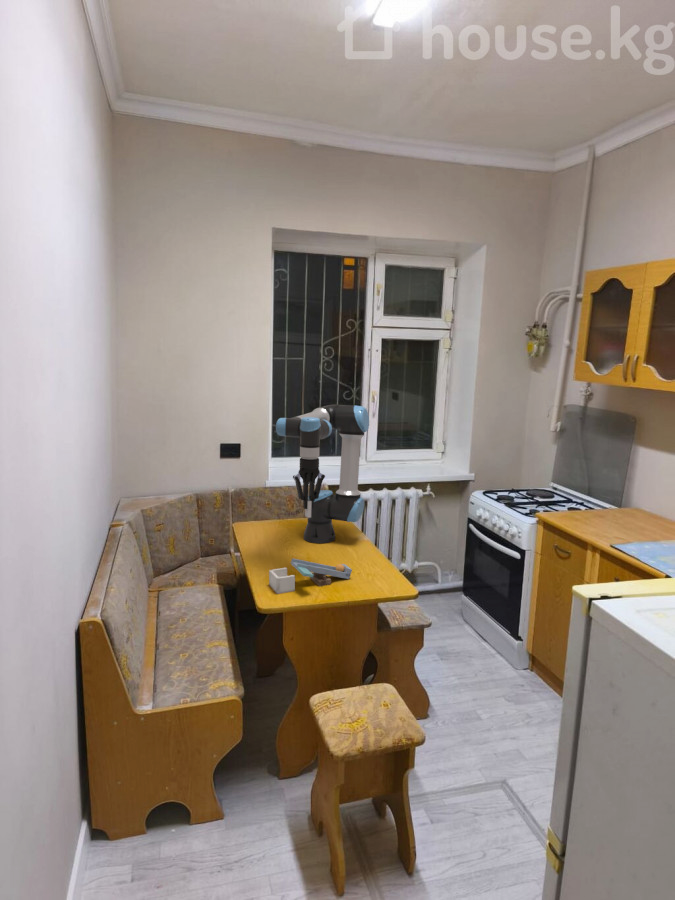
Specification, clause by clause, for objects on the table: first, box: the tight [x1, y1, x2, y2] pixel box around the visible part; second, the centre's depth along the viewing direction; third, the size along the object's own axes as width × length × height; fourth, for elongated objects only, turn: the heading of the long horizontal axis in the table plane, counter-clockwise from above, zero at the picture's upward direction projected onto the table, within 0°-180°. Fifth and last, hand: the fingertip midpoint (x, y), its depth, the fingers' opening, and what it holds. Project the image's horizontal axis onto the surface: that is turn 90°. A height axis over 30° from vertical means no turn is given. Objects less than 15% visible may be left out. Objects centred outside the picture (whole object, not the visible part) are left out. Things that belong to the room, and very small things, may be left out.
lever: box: [290, 558, 353, 580], centre depth 225 cm, size 24×13×4 cm, turn 117°
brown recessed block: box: [309, 572, 332, 587], centre depth 229 cm, size 5×9×4 cm, turn 26°
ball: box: [335, 563, 344, 572], centre depth 232 cm, size 4×4×4 cm
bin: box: [268, 567, 296, 595], centre depth 222 cm, size 7×9×6 cm
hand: (308, 516), depth 229 cm, fingers closed
